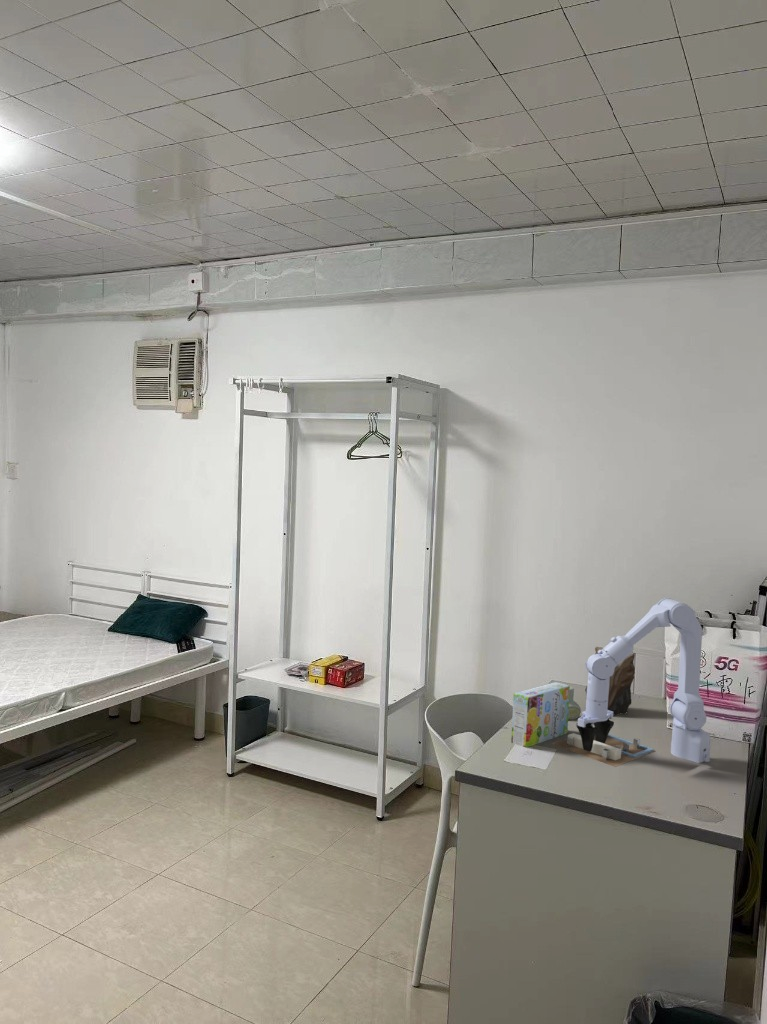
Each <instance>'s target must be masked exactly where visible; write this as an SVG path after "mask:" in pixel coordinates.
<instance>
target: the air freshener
mask: <svg viewBox="0 0 767 1024" xmlns="http://www.w3.org/2000/svg"><path fill="white" fill-rule="evenodd" d="M569 686H570V691H569V712H568V720H575V719H578V717H580V715H581V714H582V710H581V706H580V705H579V704H578V703H577V702H576V701H575V700H574V696H575V695H574V693H575V692H574V691H575V689H574V687H573V686H571V685H569Z"/></svg>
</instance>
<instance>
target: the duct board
mask: <svg viewBox="0 0 767 1024" xmlns="http://www.w3.org/2000/svg"><path fill="white" fill-rule="evenodd" d="M567 740H568V737H567V738H564V739H560V740H557V741H555V742H551V743H550V744H551V745H554V746H556V747H560V748H561V749H565V750H567V751H569V752H573V753H576V754H578V755H581V756H584V757H587V758H590V759H592V760H596V761H598V762H601V763H603V764H607V765H609V766H612V767H614V768H616V767H618V766H621V765H624V764H627V763H629V762H632V761H634V760H637V759H639V758H642V757H644V756H647V755H650V754H652V753H655V752H656V750H653V751H652V752H649V753H646V754H644V755H641V756H638V757H636V758H633V757H630V756H627V755H625V754H622V753H621V758H620V759H618V760H613V759H610V758H609V759H608V760H604V759H602V757H603V756H601V755H598V754H596V753H593V752H589V751H586V750H583V749H581V748H579V747H576V746H574V747H568V746H567ZM594 740H595V737H594ZM605 744H607V745H610V746H613V747H614V746H615V745H619V746H621V750H623V742H622V741H619V740H616V739H613V738H609V737H607V739H606V742H605ZM643 750H646V749H643V748H640V747H639V748H638V749H636V748H633V745H631V744H629V752H628V753H631V754H635V753H638V752H641V751H643Z"/></svg>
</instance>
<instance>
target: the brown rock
mask: <svg viewBox="0 0 767 1024" xmlns="http://www.w3.org/2000/svg"><path fill="white" fill-rule="evenodd" d="M603 648H604V647H600V646H595V647H594V651H595V653H594V654H598V651H599V650H602V649H603ZM634 660H635V653H633V652H632V653H631V654H630V655H629V656H628V657H626V658H625V659H624V660H623V661H622V662H621V663H620V664H618V665H617V666H616V667H615V669H614V673H613V675H612V676H610V679H609V694H608V709H607V710H609V711H612V712H613V714H619V715H621V714H620V713H626V712H628V709H629V707H630V706H631V705H632V692H631V687H632V684H633V681H634V680H635V673H636V672H635V670H636V668H635V665H634ZM585 696H586V697H587V685H586V687H585ZM626 714H627V713H626Z"/></svg>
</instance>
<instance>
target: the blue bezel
mask: <svg viewBox="0 0 767 1024" xmlns="http://www.w3.org/2000/svg"><path fill="white" fill-rule="evenodd" d="M579 734H580V733H578V734H577V735H579ZM607 737H609V738H613V739H616V740H619V741H622V742H628V743H629V744H631V745H633V742H634V741H630V740H627V739H624V738H621V737H619V736H615V735H612V734H608V736H607ZM639 747H640V748H643V749H646V750H643V751H641V752H638V753H635V754H631V753H628V752H625V751H622V750H621V753H622V754H625V755H627V756H630V757H633V758H636V757H638V756H641V755H644V754H646V753H649V752H652V751H653V750H654V748H652V747H648V746H646V745H643V744H640V745H639Z"/></svg>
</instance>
